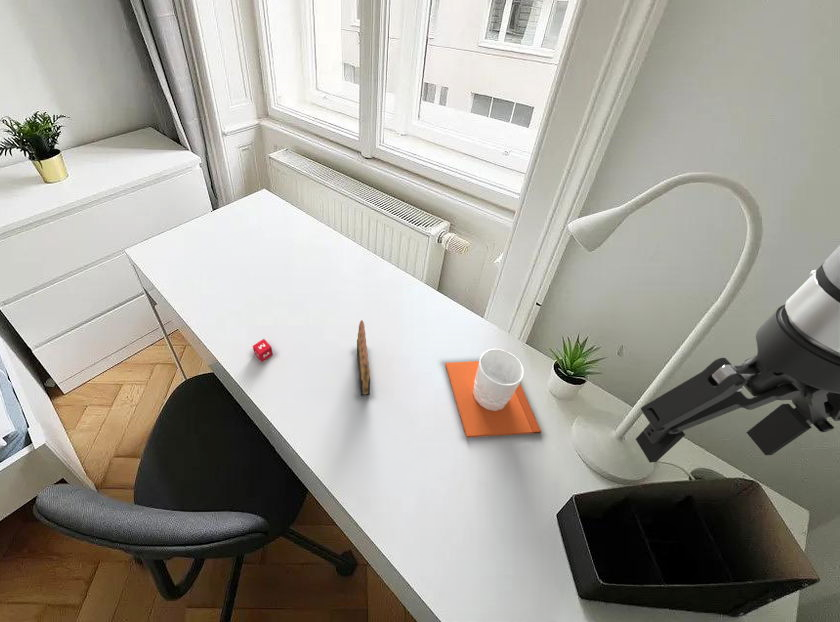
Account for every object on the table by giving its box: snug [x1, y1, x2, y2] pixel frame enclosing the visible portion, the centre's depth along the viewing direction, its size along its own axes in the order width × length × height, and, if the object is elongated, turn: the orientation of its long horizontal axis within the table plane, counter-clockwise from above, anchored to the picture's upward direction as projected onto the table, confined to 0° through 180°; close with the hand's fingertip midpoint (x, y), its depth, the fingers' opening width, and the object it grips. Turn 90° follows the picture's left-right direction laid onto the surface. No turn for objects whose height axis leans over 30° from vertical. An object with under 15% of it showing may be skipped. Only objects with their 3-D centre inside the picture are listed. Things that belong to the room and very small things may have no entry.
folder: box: [444, 360, 542, 438], centre depth 82 cm, size 16×14×1 cm
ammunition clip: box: [356, 319, 371, 397], centre depth 83 cm, size 11×2×12 cm, turn 2°
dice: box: [252, 338, 274, 363], centre depth 90 cm, size 3×3×3 cm
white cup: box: [473, 348, 525, 411], centre depth 79 cm, size 8×8×10 cm
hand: (702, 447), depth 48 cm, fingers open, 13 cm apart
